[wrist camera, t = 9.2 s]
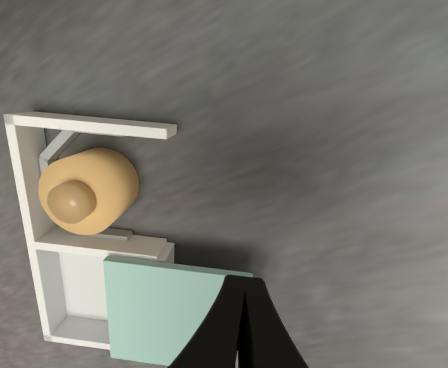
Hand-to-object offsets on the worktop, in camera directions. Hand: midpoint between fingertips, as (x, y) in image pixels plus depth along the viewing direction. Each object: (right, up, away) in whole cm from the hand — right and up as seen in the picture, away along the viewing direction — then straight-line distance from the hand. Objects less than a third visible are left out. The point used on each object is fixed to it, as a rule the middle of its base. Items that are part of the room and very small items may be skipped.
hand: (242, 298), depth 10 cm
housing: (-9, 0, +11) cm, 15 cm away
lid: (-4, -5, +10) cm, 12 cm away
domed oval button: (-9, +4, +10) cm, 14 cm away
